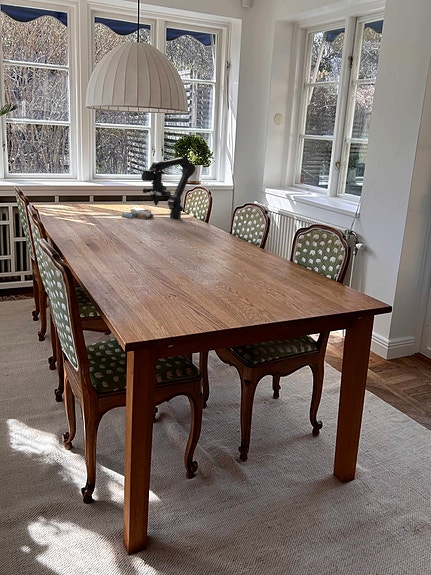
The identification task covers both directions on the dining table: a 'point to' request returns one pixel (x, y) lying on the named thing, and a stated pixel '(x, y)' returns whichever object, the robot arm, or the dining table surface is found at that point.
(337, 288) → the dining table surface
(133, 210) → the silver metal tumbler
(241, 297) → the dining table surface
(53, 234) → the dining table surface
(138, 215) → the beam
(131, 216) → the v block
